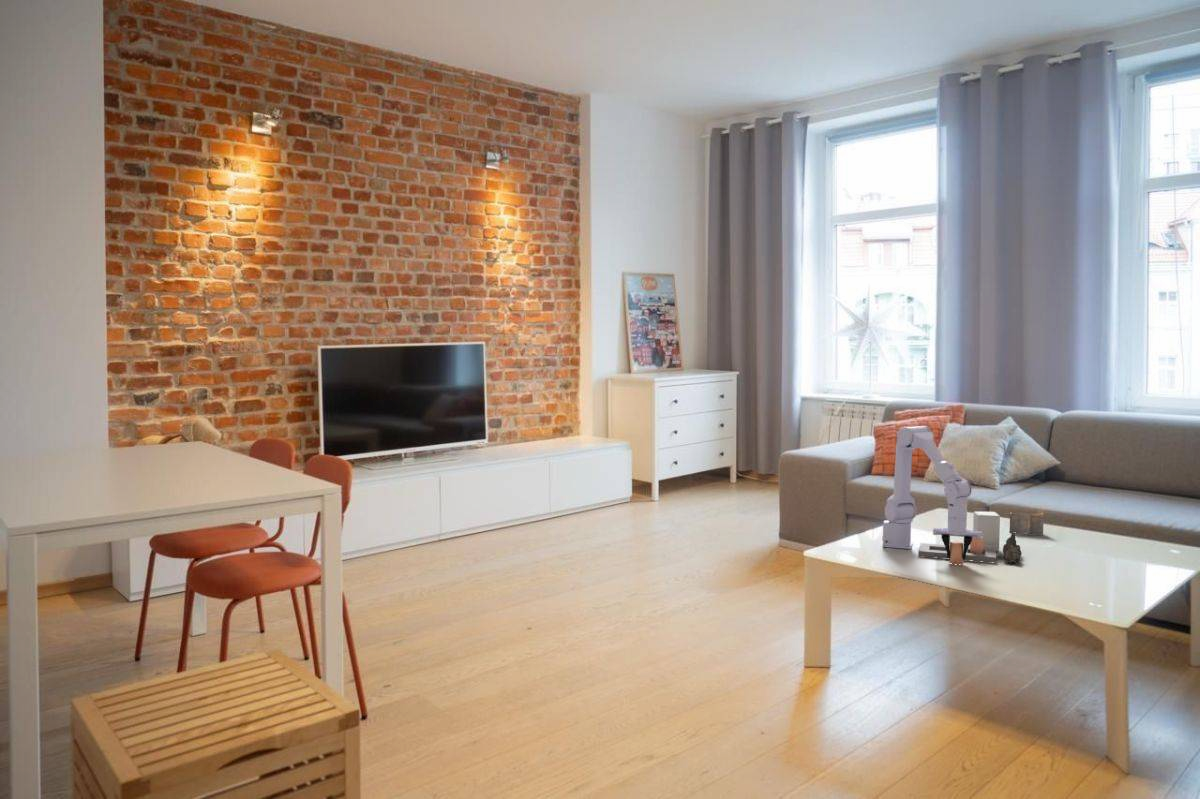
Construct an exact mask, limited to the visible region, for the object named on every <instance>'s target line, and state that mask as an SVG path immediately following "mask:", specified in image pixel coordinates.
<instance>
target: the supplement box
mask: <svg viewBox="0 0 1200 799" xmlns="http://www.w3.org/2000/svg"><path fill="white" fill-rule="evenodd" d="M972 521H973V522H972V523H973V524H972V527H973V528H972V531H980V532H981V537H983V548H987V549H996V551H999V552H1000V528H1001V527H1000V525H1001V515H999V514H998V513H997V512H996V511H973V519H972Z"/></svg>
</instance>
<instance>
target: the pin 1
mask: <svg viewBox="0 0 1200 799" xmlns="http://www.w3.org/2000/svg"><path fill="white" fill-rule="evenodd" d="M963 547H964V542H961V541H950V560H949V564H950V563H952V564H957V565H956V566H958V565H959V564H963V565H964V561H963ZM959 566H960V565H959Z"/></svg>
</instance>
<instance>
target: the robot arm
mask: <svg viewBox="0 0 1200 799" xmlns="http://www.w3.org/2000/svg"><path fill="white" fill-rule="evenodd" d="M896 434H897V436H896V442H895V443H896V444H895V458H894V459H895V460H894V480H893V494H892V495H891V496H889V497H888V498H887V499H886V504H885V507H884V516H885V517H886V519H887V520H883V526H882V537H881V538H882V547H883V548H893V549H905V550H911V549H912V546H913V543H912V541H911V539H912V536H911V534H912V522H913V521H914V519H915V518H916V516H917V508H916V500H915V498H913V497H912V496H911V485H912V484H911V483H912V482H911V479H912V462H913V452H914V451H915V450H916V449H919V450H920V449H921V450H923V452H924V453H925V455H926V456H927V457H928V459H929V460H930V461H931V462H932V463H933V464H934V466H935V467H934V472H935V474H936V475H937V477H938V478H939V480H940V481H941V482H942V485H943V486H944V489H943V491H944V494H945V496H946V502H947V506H948V507H947V527H946V528H942V527H938V528H937V527H936V528H935V527H933V528H932V529H933V530H932V535H933V536H941V537H940V538H941V541H942V542H943V545H945V548H946V551H947V558H950V542H951V537H959V538H960V537H961V538H963V547H964V550H963V559H965V556H966V552H967V550H968V547H970V543H971V542H972V538H979V539H981V532H980V531H973V529H972V530H970V529H967V522H968V520H967V519H968V497H970V496H971V494H972V491H973V490H972V486H971V483H970V482H969V480H967V479H965V478H963V477H962V476H960V474H959V473H958V471H957V469H956V468H955V467H954V464H953V463H951V462H950V461H947V460H945V458H944V457H943V455H942V453H941V452H940V450H939V448H938V446H937V445H936V443H935V440H934V437H935V436H934V433H933V432H932V431H931V429H930V428H929V426H927V425H919V426H903V427H901V428H900V429H899V430H897V433H896Z"/></svg>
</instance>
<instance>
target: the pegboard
mask: <svg viewBox="0 0 1200 799" xmlns="http://www.w3.org/2000/svg"><path fill="white" fill-rule="evenodd" d="M963 550H964V546H963ZM917 551H918V553H917V554H918V556H924V557H923V558H927V557H937V558H936V559H938V558H947V551H946V548H945V545H944V544H937V543H936V544H935V543H924V542H923V543H922V542H920V544H919V548H918V550H917ZM949 559H950V558H949ZM949 559H948V560H949ZM963 560H973V561H983V562H994V563H993V564H995V563H996V564H997V552H996V549H987V548H983V554H975V553H970V546H969V547H968V550H967V552H966V556H965V559H963ZM983 562H982V563H983Z"/></svg>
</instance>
